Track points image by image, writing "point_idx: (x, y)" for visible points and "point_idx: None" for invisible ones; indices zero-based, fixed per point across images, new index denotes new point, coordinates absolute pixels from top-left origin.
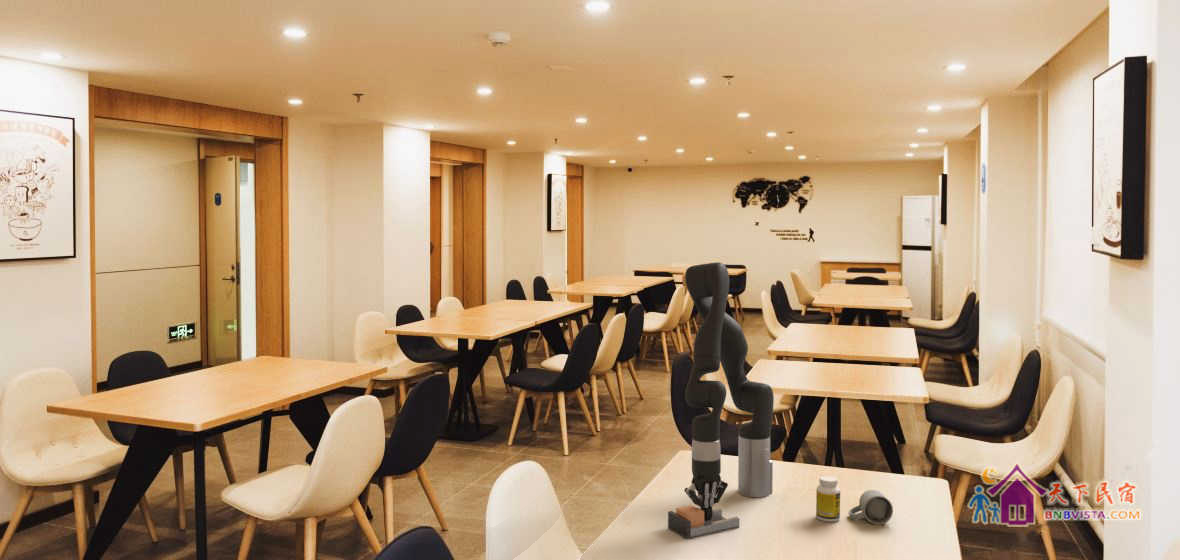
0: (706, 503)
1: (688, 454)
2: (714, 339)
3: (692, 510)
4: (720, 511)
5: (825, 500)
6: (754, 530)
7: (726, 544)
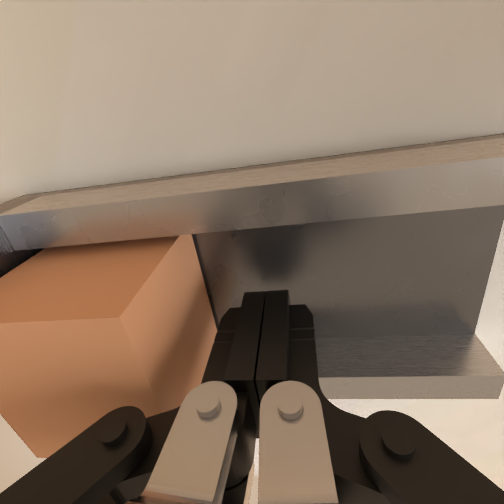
0: (223, 498)
1: None
2: None
3: (88, 419)
4: None
5: None
6: (498, 399)
7: (257, 439)
